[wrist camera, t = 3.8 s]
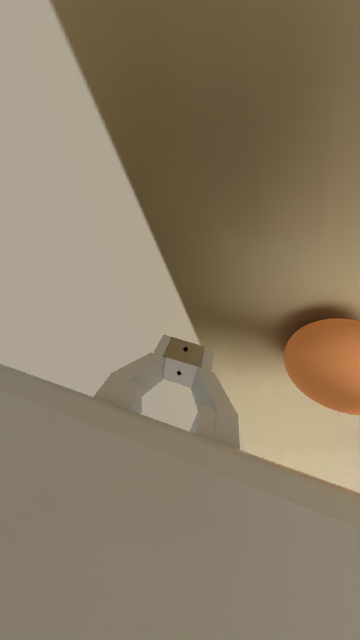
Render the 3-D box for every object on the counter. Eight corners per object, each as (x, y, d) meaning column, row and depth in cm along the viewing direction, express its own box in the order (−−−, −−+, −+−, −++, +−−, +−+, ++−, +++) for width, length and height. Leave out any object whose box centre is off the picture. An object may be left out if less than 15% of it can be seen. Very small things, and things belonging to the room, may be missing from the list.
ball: (300, 294, 10) (352, 352, 6) (391, 314, 10) (526, 396, 5) (263, 349, 14) (280, 414, 9) (330, 367, 13) (383, 446, 9)
